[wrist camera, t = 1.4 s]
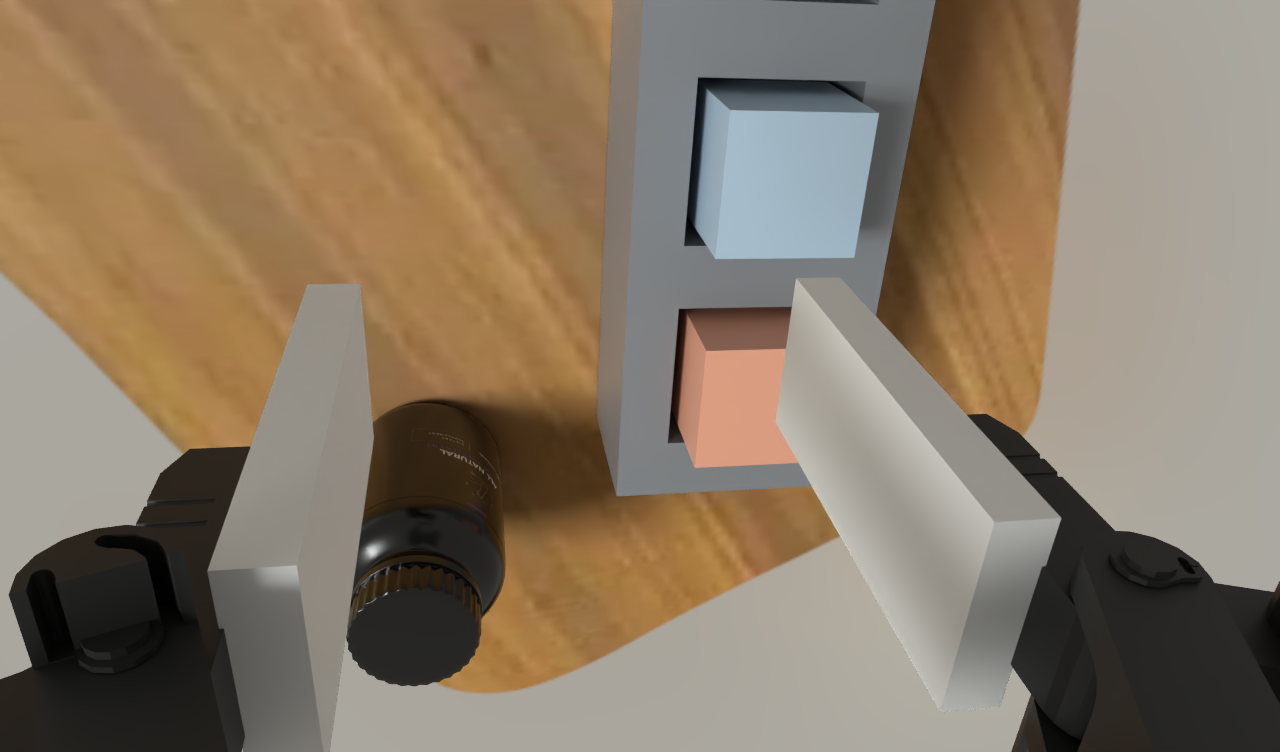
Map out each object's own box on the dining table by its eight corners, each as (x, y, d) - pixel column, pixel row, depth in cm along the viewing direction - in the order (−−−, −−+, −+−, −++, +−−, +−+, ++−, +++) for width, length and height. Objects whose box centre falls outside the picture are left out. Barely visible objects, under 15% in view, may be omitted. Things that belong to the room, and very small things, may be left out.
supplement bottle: (506, 400, 44) (521, 567, 34) (493, 520, 47) (504, 708, 37) (351, 392, 42) (317, 564, 32) (349, 516, 45) (317, 711, 35)
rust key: (677, 295, 38) (706, 350, 34) (796, 293, 39) (838, 347, 35) (669, 403, 41) (694, 467, 36) (781, 399, 42) (819, 462, 37)
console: (625, -299, 32) (661, -332, 26) (902, -272, 34) (992, -298, 28) (596, 417, 45) (616, 496, 40) (797, 409, 47) (844, 484, 41)
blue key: (695, 78, 34) (729, 109, 30) (827, 81, 35) (879, 113, 31) (684, 211, 37) (715, 259, 32) (808, 211, 38) (854, 257, 33)
